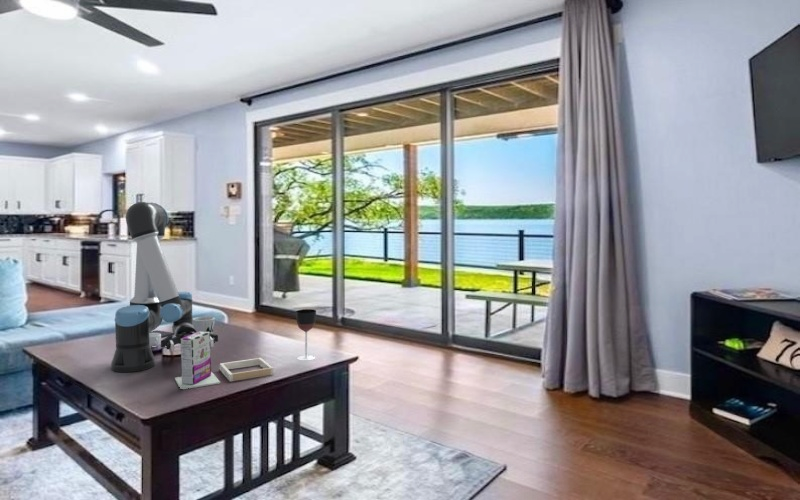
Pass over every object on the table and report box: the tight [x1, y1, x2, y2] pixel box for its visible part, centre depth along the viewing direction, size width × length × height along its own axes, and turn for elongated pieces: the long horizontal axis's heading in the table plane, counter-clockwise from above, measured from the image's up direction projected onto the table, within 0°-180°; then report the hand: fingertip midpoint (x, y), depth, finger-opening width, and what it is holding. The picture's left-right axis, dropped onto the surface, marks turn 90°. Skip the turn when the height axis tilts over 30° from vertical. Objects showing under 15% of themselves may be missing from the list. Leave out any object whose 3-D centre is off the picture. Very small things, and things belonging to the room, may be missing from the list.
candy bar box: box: [180, 331, 212, 385], centre depth 179 cm, size 11×5×16 cm, turn 169°
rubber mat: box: [174, 371, 221, 390], centre depth 179 cm, size 13×13×1 cm
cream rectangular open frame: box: [219, 357, 275, 382], centre depth 191 cm, size 16×16×2 cm
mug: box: [192, 315, 216, 334], centre depth 243 cm, size 10×15×10 cm
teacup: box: [149, 333, 162, 348], centre depth 227 cm, size 10×8×5 cm
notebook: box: [149, 329, 175, 339], centre depth 243 cm, size 13×2×21 cm
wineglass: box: [295, 308, 317, 361], centre depth 210 cm, size 8×9×20 cm
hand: (193, 345), depth 184 cm, fingers open, 13 cm apart
